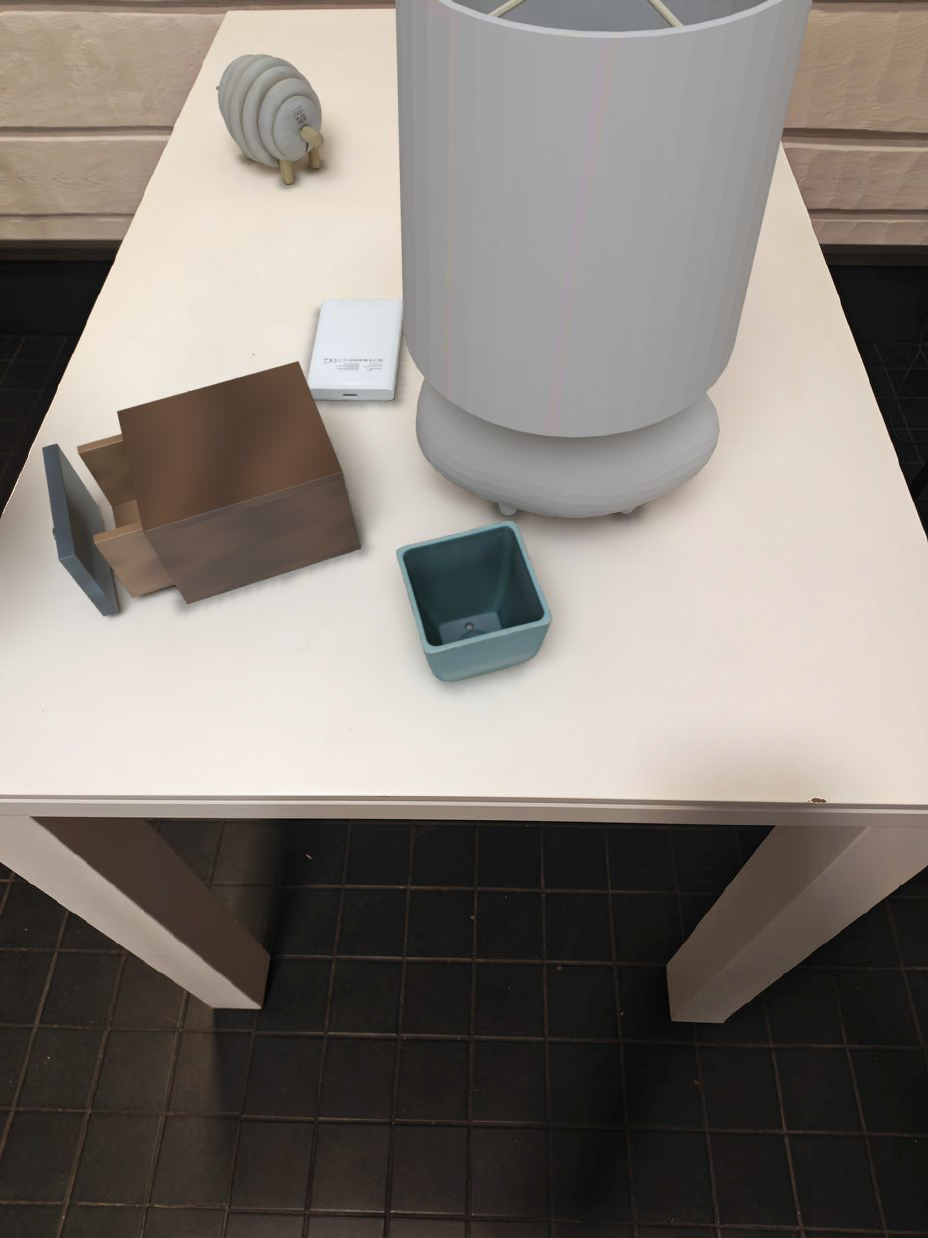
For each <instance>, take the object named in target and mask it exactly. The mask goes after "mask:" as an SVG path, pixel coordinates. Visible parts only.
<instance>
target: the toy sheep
mask: <svg viewBox="0 0 928 1238" xmlns="http://www.w3.org/2000/svg"><path fill="white" fill-rule="evenodd" d="M215 90H216V91H217V102H218V107H219V112H220V114H221V117H222V119H223V121H224V124H225V126H226V129H227V131H228V133H229V135H230V137H231V138H232V139H233V141H234V142H235V143H236V144H237V146H238V147H239V149H240V150H241V152H242V153H244V158H246V159H247V160H249V161H250V160H252V161H254V162H257V163H260V164H263V165H266V166H269V167H273V168H279V169H280V172H281V176H282V181H283V183H284V184H286V185H291V184H293V183H294V181H295V177H294V172H293V167H292V164H294V163H295V162H296V161H298V160H299V159H301V158H303V157H304V156H306V155H307V156H308V162H309V165H310V167H311V168H312V169H314V170H317V169H320V167H321V165H322V162H321V156H320V152H319V148H321V147H323V145H324V136H323V135H322V134H321V133H320V132H321V129H322V123H323V122H322V121H323V112H322V111H323V110H322V104H321V102H320V98H319V96H318V94H317V93H316V91H315V89H314V88H313V87H312V85H311V83H310V82H309V80H308V79H307V77H306V76H305V75H304V74H303V73H301V72H300V71H299V70H298V69H297V68H296V66H294V65H293V64H292V63H291V62H289V61H287V60H286V59H283V58H280V57H277V56H272V55H268V54H263V53H262V54H261V53H260V54H259V53H258V54H244V55H240V56H239V57H236V58H235V59H234V60H232V61H231V62H230V63H229V64H228V65H227V67H226V68H225V69H224V71H223V73H222V75H221V78H220V79H219V84H218V85H217V86H215Z"/></svg>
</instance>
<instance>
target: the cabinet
mask: <svg viewBox="0 0 928 1238" xmlns="http://www.w3.org/2000/svg"><path fill="white" fill-rule="evenodd" d="M116 414H117V420H118V424H119V428H120V432H121V433H120V434H122V438H123V442H124V447H125V451H126V456H127V460H128V465H129V469H130V474H131V478H132V483H133V487H134V492H135V496H136V501H137V506H138V510H139V515H140V519H141V524H142V528H143V532H144V534H145V536H146V537H147V539H148V541H149V542H150V544H151V546H152V547H153V549H154V551H155V552H156V554H157V556H158V557H159V559H160V561H161V562H162V564H163V566H164V567H165V569H166V570H167V572H168V574H169V575H170V577H171V579H172V580H173V582H174V584H175V585H174V586H175V587H176V589H177V590H178V592H179V594H180V595H181V598H182V599H183V601H184V602H185V604H186V605H189V604H192V603H195V602H197V601H198V602H199V601H201V600H204V599H208V598H210V597H214V596H216V595H220V594H223V593H226V592H229V591H232V590H233V591H234V590H235V589H238V588H242V587H245V586H249V585H251V584H254V583H258V582H260V581H264V580H267V579H270V578H273V577H277V576H280V575H284V574H285V573H289V572H292V571H295V570H298V569H302V568H304V567H307V566H311V565H314V564H317V563H321V562H324V561H327V560H330V559H333V558H336V557H339V556H342V555H346V554H348V553H352V552H355V551H358V550H361V544H360V540H359V535H358V531H357V527H356V522H355V518H354V513H353V510H352V505H351V500H350V496H349V493H348V488H347V484H346V480H345V475H344V471H343V469H342V466H341V464H340V461H339V459H338V456H337V454H336V451H335V449H334V446H333V443H332V441H331V438H330V436H329V433H328V431H327V428H326V426H325V424H324V421H323V419H322V416H321V414H320V411H319V408H318V406H317V404H316V400H314V398H313V396H312V393H311V391H310V388H309V386H308V383H307V378H306V376H305V373H304V371H303V369H302V366H301V363H300V361H299V360H296V361H293V362H290V363H287V364H283V365H279V366H275V367H271V368H267V369H264V370H260V371H257V372H253V373H250V374H246V375H243V376H239V377H235V378H231V379H229V380H225V381H221V382H217V383H214V384H210V385H207V386H202V387H200V388H196V389H195V388H194V389H192V390H189V391H184V392H181V393H177V394H174V395H170V396H167V397H163V398H160V399H156V400H152V401H148V402H146V403H145V402H144V403H142V404H138V405H134V406H131V407H127V408H123V409H119V410H117V411H116Z"/></svg>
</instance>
